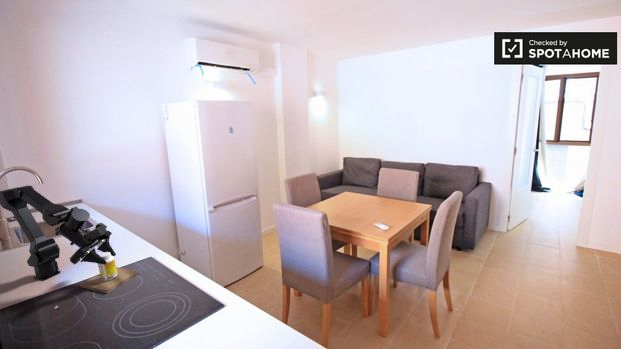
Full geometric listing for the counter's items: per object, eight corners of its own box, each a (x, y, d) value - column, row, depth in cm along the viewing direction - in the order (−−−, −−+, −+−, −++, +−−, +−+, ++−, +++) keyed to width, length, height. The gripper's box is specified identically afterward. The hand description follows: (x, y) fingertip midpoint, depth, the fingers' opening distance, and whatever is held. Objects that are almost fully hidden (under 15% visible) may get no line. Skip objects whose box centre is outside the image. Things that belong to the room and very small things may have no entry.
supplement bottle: (120, 272, 124) (115, 250, 122) (113, 280, 119) (108, 257, 116) (106, 274, 124) (101, 251, 121) (98, 282, 118) (92, 258, 116)
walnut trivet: (107, 293, 113) (107, 290, 112) (80, 287, 117) (80, 284, 117) (138, 274, 126) (138, 271, 125) (113, 268, 130) (113, 266, 130)
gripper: (72, 229, 106) (110, 256, 110) (103, 211, 124) (135, 235, 128) (53, 251, 107) (91, 277, 111) (86, 230, 126) (118, 253, 129)
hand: (110, 259), depth 119 cm, fingers open, 6 cm apart
